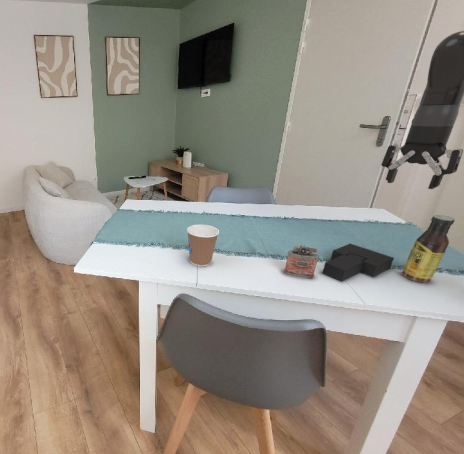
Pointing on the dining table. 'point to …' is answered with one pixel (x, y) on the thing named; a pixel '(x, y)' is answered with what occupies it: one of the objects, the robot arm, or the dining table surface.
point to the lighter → (301, 262)
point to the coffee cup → (201, 243)
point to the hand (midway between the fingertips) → (409, 185)
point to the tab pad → (343, 267)
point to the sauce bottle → (428, 250)
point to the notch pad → (371, 264)
